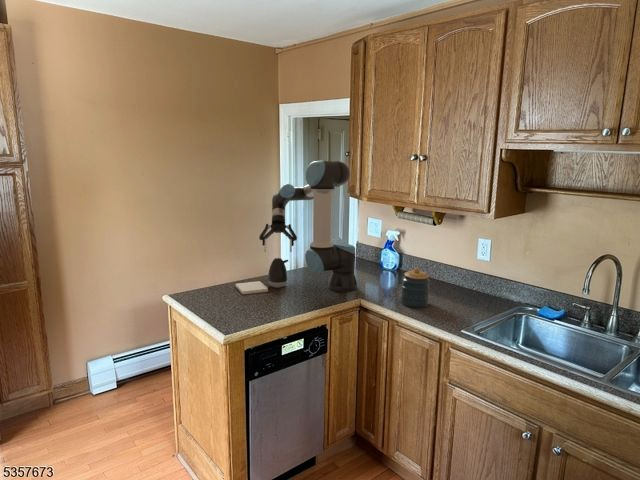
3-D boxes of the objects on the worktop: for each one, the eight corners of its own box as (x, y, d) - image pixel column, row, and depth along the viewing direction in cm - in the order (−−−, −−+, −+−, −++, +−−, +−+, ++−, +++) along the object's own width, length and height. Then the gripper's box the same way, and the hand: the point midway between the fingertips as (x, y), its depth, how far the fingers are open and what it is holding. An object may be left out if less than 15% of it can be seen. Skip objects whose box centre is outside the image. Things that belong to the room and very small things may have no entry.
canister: (411, 309, 202) (414, 272, 198) (394, 300, 214) (397, 265, 210) (433, 306, 208) (437, 270, 204) (416, 297, 219) (419, 263, 215)
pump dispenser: (286, 289, 224) (287, 260, 221) (266, 288, 224) (266, 259, 221) (288, 283, 234) (289, 255, 231) (269, 282, 234) (269, 254, 231)
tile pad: (268, 291, 220) (268, 288, 220) (242, 294, 215) (242, 291, 215) (260, 283, 232) (260, 281, 232) (235, 286, 226) (235, 283, 226)
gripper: (300, 222, 252) (301, 254, 240) (256, 221, 249) (254, 253, 238) (301, 214, 245) (301, 247, 234) (255, 213, 243) (254, 246, 232)
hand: (278, 250), depth 236 cm, fingers open, 13 cm apart
